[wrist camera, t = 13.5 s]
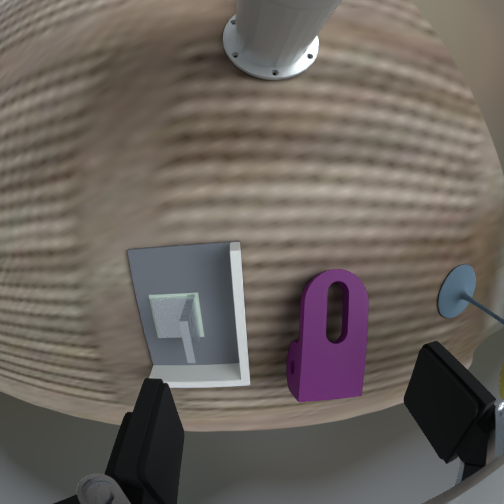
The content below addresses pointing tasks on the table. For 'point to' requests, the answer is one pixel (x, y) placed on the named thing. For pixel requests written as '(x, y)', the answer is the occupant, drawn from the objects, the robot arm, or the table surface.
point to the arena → (208, 308)
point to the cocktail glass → (463, 299)
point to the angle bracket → (179, 321)
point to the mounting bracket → (329, 353)
